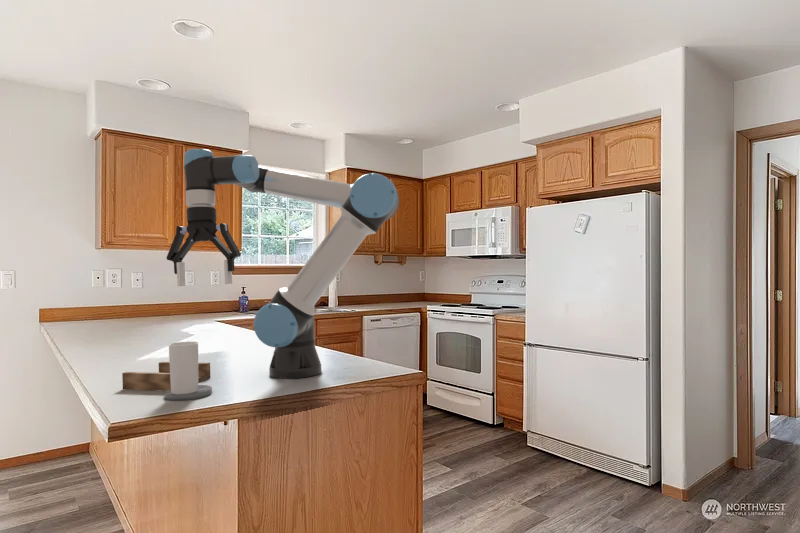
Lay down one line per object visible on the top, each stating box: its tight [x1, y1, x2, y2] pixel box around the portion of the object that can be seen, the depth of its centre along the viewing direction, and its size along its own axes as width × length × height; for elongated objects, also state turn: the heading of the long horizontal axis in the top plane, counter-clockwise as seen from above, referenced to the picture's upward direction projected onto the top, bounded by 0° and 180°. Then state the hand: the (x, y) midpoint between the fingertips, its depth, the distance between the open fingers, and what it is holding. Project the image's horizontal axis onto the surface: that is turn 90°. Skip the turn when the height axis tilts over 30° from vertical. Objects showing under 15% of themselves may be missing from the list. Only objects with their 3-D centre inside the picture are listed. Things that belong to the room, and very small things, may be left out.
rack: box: [121, 361, 211, 392], centre depth 142 cm, size 16×16×4 cm
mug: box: [168, 341, 199, 395], centre depth 129 cm, size 10×7×12 cm, turn 5°
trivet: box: [164, 384, 213, 402], centre depth 129 cm, size 11×11×1 cm
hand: (205, 285), depth 139 cm, fingers open, 13 cm apart
